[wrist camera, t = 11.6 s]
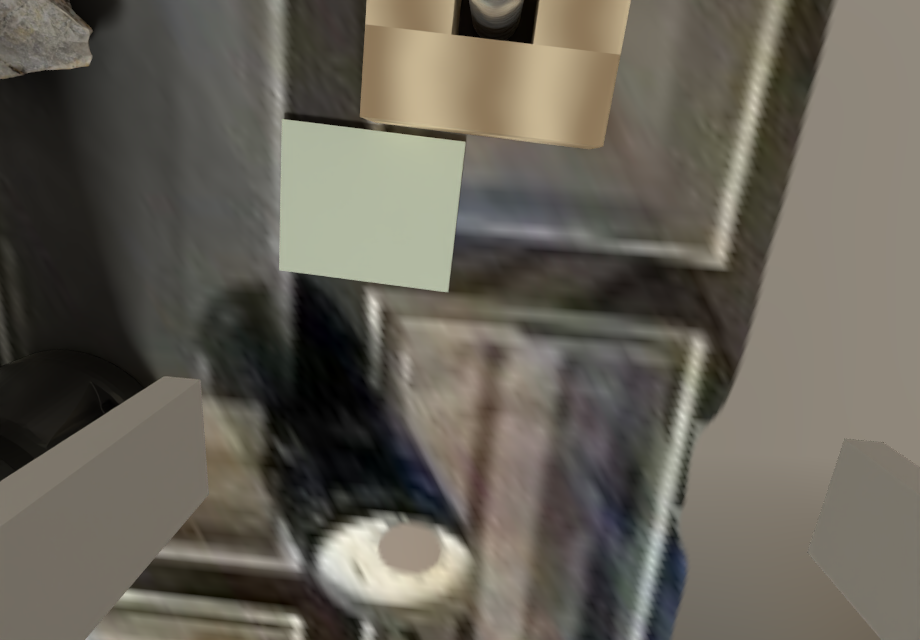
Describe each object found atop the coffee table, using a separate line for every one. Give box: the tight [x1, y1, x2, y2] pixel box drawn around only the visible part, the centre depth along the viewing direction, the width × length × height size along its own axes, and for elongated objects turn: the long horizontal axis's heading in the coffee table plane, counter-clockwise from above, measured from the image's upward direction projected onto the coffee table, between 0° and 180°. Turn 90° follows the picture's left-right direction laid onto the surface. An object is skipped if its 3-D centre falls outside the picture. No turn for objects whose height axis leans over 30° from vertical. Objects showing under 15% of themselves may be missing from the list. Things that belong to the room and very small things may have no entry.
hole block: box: [360, 0, 631, 149], centre depth 29 cm, size 14×14×4 cm
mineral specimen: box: [0, 0, 93, 79], centre depth 31 cm, size 10×8×10 cm
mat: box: [279, 119, 466, 292], centre depth 35 cm, size 12×10×1 cm
